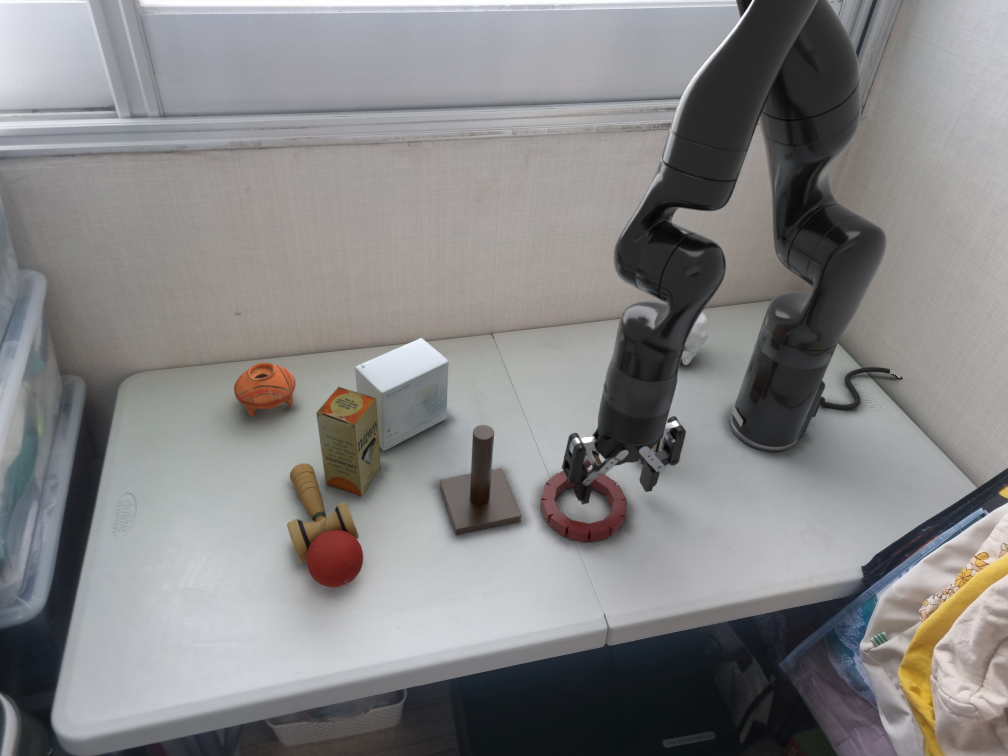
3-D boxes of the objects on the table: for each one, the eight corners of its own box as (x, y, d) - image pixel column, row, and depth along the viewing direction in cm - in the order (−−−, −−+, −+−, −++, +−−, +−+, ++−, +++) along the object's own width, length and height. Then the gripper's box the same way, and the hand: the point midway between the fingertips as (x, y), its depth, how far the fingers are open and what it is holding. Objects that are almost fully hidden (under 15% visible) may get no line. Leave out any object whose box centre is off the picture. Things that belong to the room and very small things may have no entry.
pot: (274, 432, 100) (256, 391, 96) (234, 420, 104) (215, 380, 100) (315, 397, 105) (299, 356, 102) (274, 387, 109) (258, 347, 105)
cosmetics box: (385, 453, 99) (381, 392, 92) (357, 426, 102) (352, 365, 96) (449, 419, 104) (450, 359, 98) (421, 394, 108) (420, 335, 101)
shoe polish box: (325, 484, 94) (316, 412, 86) (345, 457, 98) (338, 386, 90) (361, 496, 93) (355, 425, 85) (380, 469, 97) (376, 398, 89)
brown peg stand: (501, 473, 97) (506, 403, 90) (520, 521, 92) (528, 450, 84) (439, 485, 95) (440, 414, 88) (456, 535, 89) (458, 463, 82)
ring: (604, 470, 99) (606, 462, 98) (638, 531, 91) (640, 523, 90) (529, 485, 96) (531, 476, 95) (558, 549, 89) (559, 541, 88)
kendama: (266, 501, 93) (303, 606, 80) (267, 458, 90) (305, 560, 77) (329, 491, 97) (374, 590, 83) (332, 450, 94) (379, 545, 80)
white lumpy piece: (716, 317, 111) (639, 334, 109) (707, 362, 117) (634, 378, 115) (696, 293, 116) (622, 308, 114) (689, 338, 121) (618, 353, 119)
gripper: (590, 426, 79) (571, 527, 89) (712, 405, 83) (680, 505, 93) (564, 380, 84) (549, 480, 95) (680, 362, 88) (653, 461, 98)
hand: (614, 492), depth 94 cm, fingers open, 8 cm apart
